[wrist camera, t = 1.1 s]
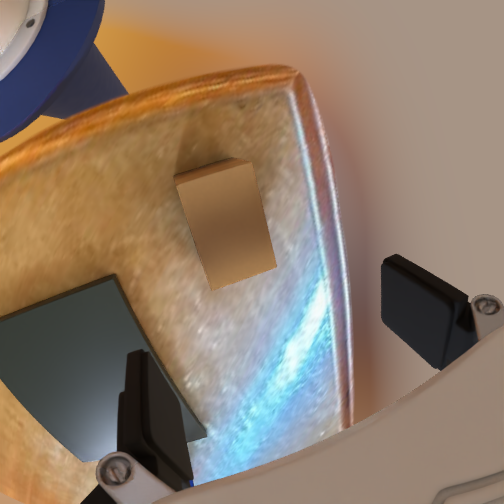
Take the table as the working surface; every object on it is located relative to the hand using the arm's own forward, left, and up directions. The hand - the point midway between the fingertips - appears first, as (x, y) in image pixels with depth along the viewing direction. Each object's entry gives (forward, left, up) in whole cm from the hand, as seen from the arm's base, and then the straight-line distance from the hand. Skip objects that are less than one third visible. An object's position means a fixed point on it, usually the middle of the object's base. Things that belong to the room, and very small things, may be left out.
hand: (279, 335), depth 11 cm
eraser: (-1, 0, -14) cm, 14 cm away
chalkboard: (+12, -18, -14) cm, 25 cm away
